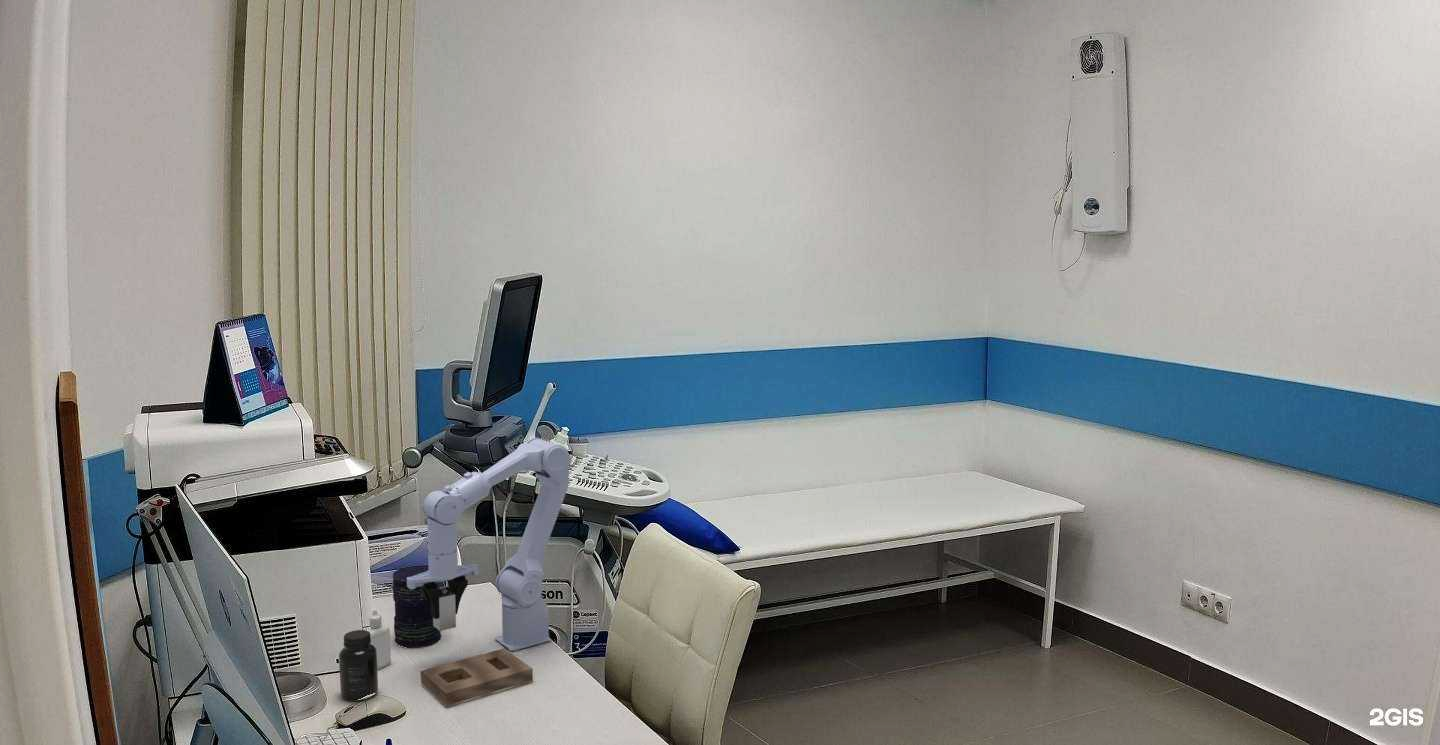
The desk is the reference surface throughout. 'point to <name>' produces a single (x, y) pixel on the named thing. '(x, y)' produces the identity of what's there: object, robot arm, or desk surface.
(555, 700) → the desk surface
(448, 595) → the light grey upright block
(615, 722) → the desk surface
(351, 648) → the supplement bottle
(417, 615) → the storage jar
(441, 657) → the desk surface
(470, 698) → the socket board
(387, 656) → the eye dropper bottle
